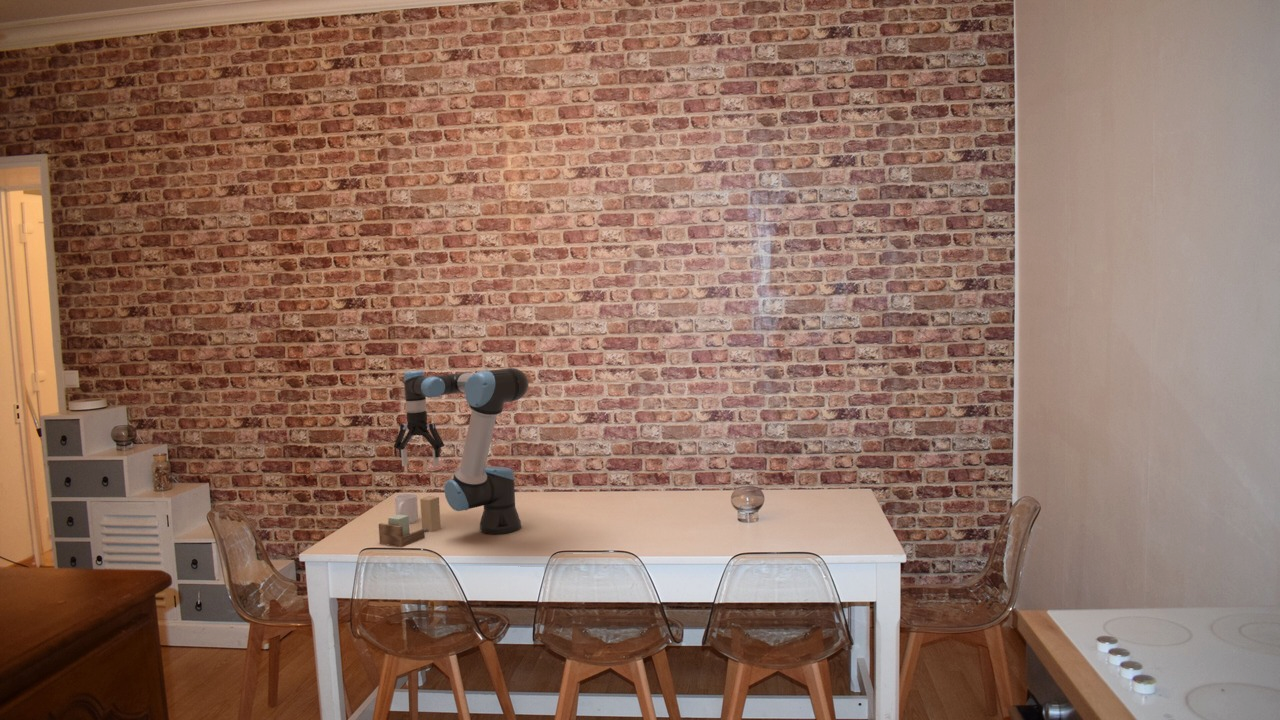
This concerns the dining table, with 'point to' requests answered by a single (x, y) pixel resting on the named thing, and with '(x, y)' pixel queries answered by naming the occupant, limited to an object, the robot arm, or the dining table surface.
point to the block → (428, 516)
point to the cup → (407, 506)
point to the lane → (397, 535)
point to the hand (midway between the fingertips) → (420, 466)
